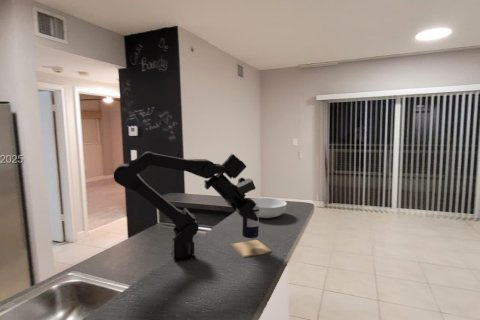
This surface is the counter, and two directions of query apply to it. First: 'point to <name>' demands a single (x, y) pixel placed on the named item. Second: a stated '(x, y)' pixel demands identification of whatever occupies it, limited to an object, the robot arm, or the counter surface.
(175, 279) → the counter surface
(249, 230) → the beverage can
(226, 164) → the robot arm
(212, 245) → the counter surface
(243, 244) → the coaster
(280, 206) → the serving bowl
